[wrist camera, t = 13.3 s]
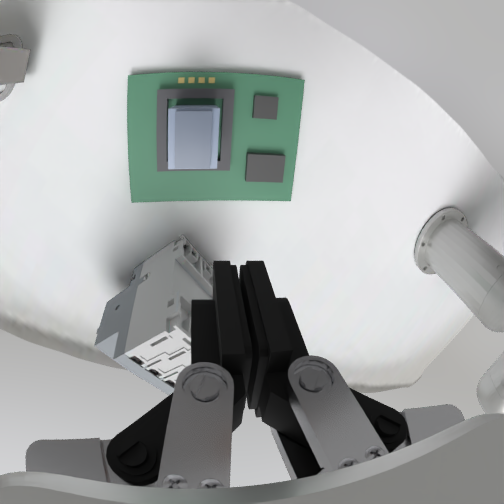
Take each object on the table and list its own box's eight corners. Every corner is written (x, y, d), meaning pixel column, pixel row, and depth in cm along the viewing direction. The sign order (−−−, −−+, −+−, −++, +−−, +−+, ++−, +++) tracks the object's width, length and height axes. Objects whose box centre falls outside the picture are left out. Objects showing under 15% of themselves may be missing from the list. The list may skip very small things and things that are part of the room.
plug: (215, 104, 27) (220, 108, 20) (213, 152, 29) (217, 172, 23) (175, 104, 26) (167, 109, 19) (174, 153, 28) (167, 172, 22)
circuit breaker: (105, 290, 37) (79, 377, 24) (182, 234, 35) (177, 323, 22) (141, 321, 41) (130, 408, 28) (218, 275, 39) (230, 367, 26)
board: (300, 80, 27) (309, 79, 25) (287, 197, 34) (294, 205, 32) (130, 76, 24) (124, 74, 22) (133, 198, 31) (128, 207, 29)
